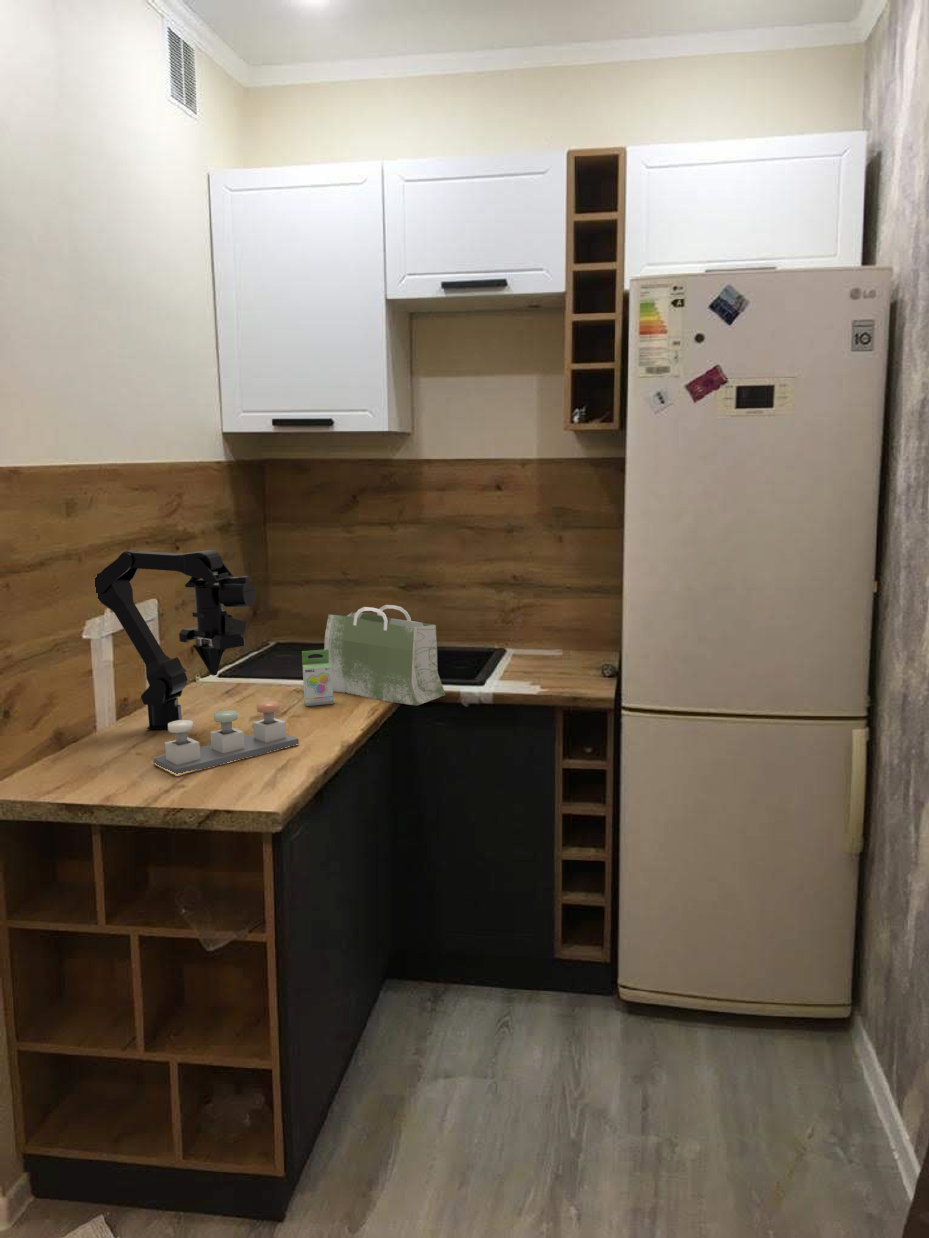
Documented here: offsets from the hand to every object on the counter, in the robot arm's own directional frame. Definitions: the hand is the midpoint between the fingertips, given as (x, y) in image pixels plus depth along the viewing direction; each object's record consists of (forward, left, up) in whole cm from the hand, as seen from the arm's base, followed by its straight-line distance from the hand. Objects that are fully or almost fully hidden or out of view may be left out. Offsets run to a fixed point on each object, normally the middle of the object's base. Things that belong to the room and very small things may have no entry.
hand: (214, 675), depth 213 cm
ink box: (+21, +20, -13) cm, 32 cm away
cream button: (-1, -26, -8) cm, 27 cm away
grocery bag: (+37, +30, -13) cm, 49 cm away
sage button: (+6, -19, -8) cm, 22 cm away
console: (+6, -19, -13) cm, 24 cm away
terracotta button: (+14, -13, -8) cm, 21 cm away
